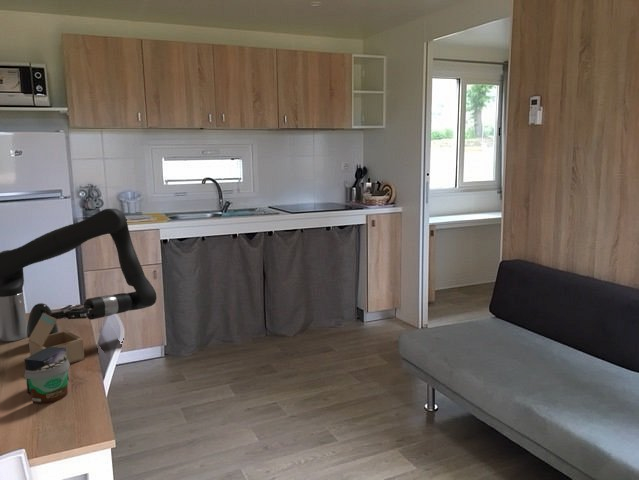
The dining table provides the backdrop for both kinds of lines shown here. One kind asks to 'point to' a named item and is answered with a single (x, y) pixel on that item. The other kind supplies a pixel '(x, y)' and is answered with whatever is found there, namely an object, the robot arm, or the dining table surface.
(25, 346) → the dining table surface
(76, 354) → the carton
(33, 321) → the black egg-shaped piece
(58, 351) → the small box
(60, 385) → the food container
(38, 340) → the flap
